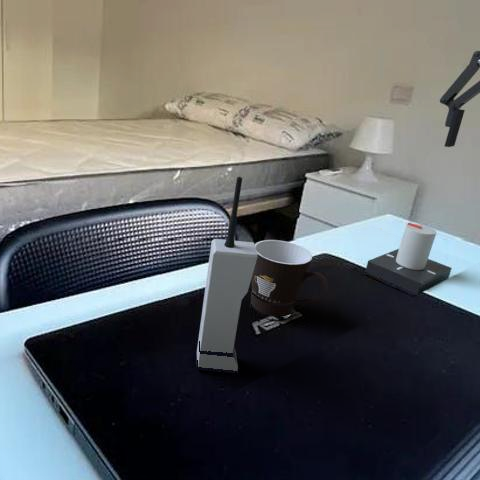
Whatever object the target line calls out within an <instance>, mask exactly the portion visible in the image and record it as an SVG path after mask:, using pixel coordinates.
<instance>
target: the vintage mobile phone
mask: <svg viewBox="0 0 480 480" xmlns="http://www.w3.org/2000/svg"><path fill="white" fill-rule="evenodd" d="M242 183H243V177H241V176H237V177H236V180H235V189H234V195H233V201H232V208H231V214H230V217H229V222H228V228H227V234H226V239H222V238H221V239H220V238H214V239H212V240H211V243H210V244H211V245H210V249H209V250H210V252H209V258H208V266H207V272H206V280H205V287H204V294H203V295H204V296H203V303H202V310H201V316H200V317H201V318H200V325H199V333H198V340H197V347H196V361H197V360H198V367H202V368H213V369H223V370H233V371H237V372H238V369H239V366H238V360H237V359H238V357H237V352H236V349H235V343H236V342H235V341H236V336H237V330H238V323H239V318H240V312H241V305H242V300H243V299H244V297H245V296H246V295H247V294H248V293H249V288H250V285H251V283H252V275H253V271H254V267H255V264H256V260H257V257H258V254H257V251H256V248H255V242H254V241H253V242H251V241H243V240H235V236H236V229H237V223H238V210H239V209H238V208H239V203H240V197H241V189H242ZM199 341H200V351H207V352H208V351H211V352H223V353H226V352H227V353H233V356H234V357H227V356H217V355H207V354H200V352H199Z"/></svg>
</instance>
